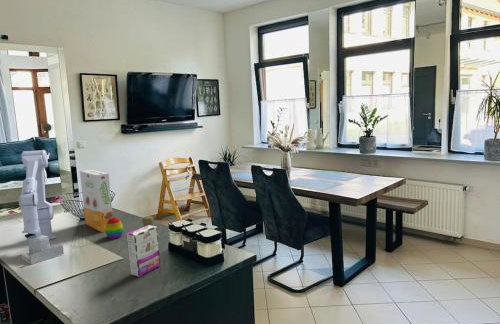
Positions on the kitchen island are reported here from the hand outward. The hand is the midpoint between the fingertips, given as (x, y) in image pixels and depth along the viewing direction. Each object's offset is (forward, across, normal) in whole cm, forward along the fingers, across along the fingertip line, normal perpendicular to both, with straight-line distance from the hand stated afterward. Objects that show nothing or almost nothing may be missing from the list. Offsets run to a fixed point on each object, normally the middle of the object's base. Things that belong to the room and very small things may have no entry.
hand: (34, 248), depth 165 cm
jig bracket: (+1, +8, 0) cm, 9 cm away
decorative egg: (+2, +13, +32) cm, 34 cm away
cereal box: (+2, -10, +36) cm, 38 cm away
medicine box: (+2, +7, 0) cm, 7 cm away
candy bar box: (+2, +59, +18) cm, 61 cm away
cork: (+2, +30, +40) cm, 50 cm away
